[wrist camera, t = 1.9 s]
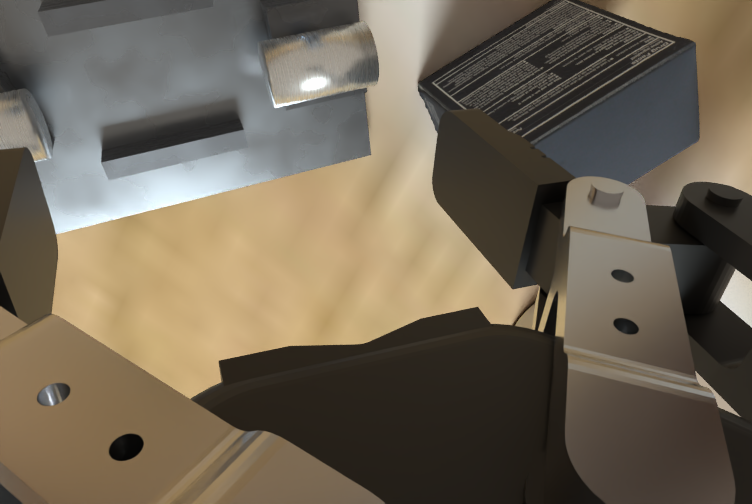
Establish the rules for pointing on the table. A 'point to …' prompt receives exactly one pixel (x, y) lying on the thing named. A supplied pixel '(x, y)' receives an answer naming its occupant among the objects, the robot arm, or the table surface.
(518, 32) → the small box
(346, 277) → the table surface
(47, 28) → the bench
